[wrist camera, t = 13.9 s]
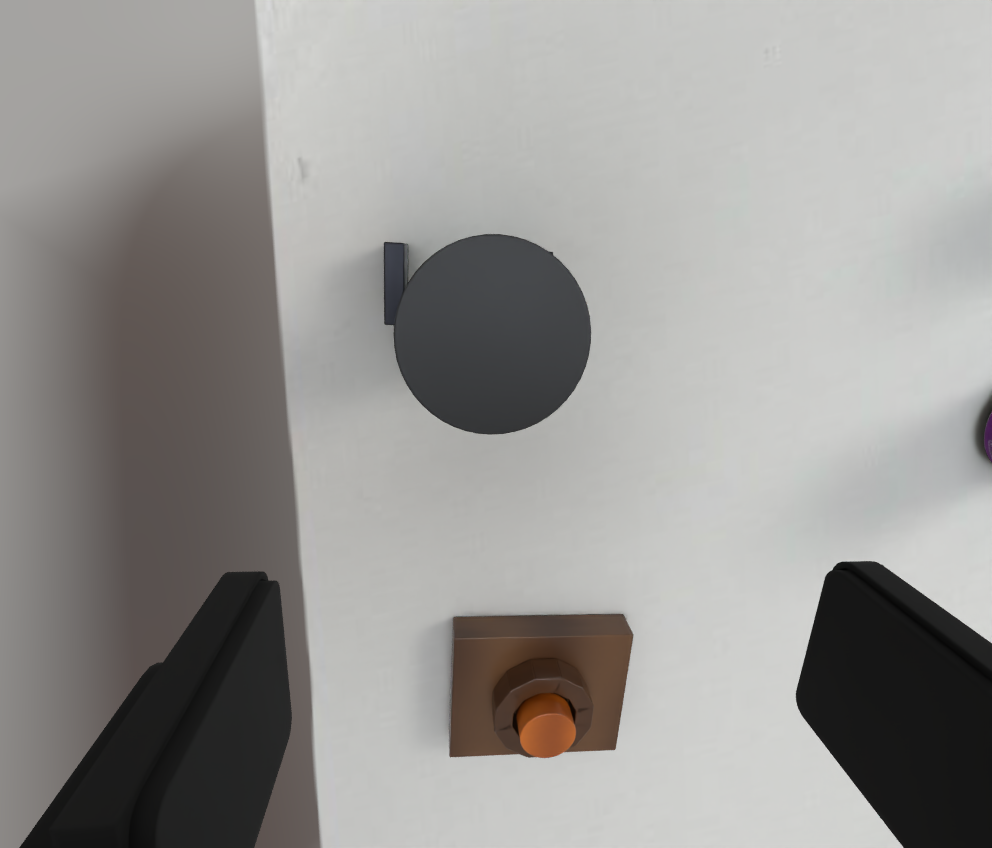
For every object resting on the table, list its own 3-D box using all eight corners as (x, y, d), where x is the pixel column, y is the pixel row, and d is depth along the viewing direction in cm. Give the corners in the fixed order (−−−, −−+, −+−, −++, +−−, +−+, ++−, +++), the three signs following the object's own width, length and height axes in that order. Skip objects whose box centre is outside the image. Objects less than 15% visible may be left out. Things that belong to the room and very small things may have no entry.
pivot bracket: (389, 317, 31) (384, 324, 28) (389, 242, 29) (383, 241, 26) (536, 324, 31) (546, 331, 28) (541, 251, 30) (553, 252, 27)
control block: (448, 731, 40) (449, 781, 36) (453, 616, 37) (454, 658, 33) (606, 725, 41) (623, 772, 37) (623, 613, 38) (643, 653, 34)
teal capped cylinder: (419, 265, 30) (417, 360, 31) (394, 227, 13) (393, 432, 14) (512, 270, 30) (508, 363, 31) (599, 240, 14) (583, 436, 15)
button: (514, 736, 36) (518, 759, 34) (518, 692, 35) (521, 714, 33) (567, 734, 36) (573, 757, 35) (572, 691, 35) (579, 712, 34)
